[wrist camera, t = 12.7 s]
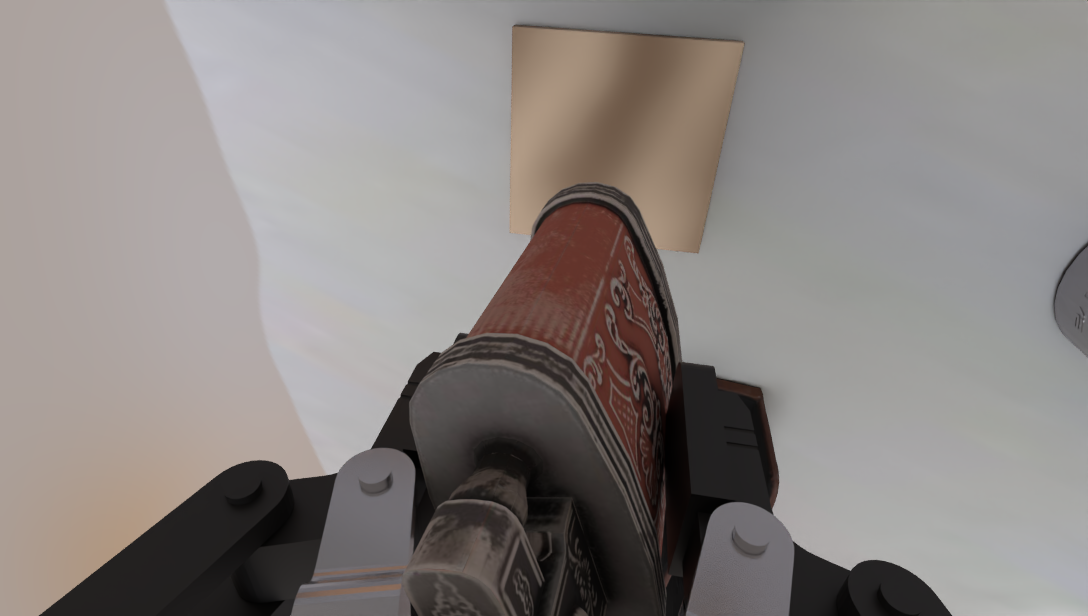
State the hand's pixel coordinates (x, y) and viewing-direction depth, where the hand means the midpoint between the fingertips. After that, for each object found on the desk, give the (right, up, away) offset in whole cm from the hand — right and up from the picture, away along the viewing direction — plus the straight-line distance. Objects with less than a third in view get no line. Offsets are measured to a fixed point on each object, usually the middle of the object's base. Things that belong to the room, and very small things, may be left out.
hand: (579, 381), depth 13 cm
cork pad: (+3, +10, +15) cm, 18 cm away
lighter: (+1, +1, +3) cm, 3 cm away
